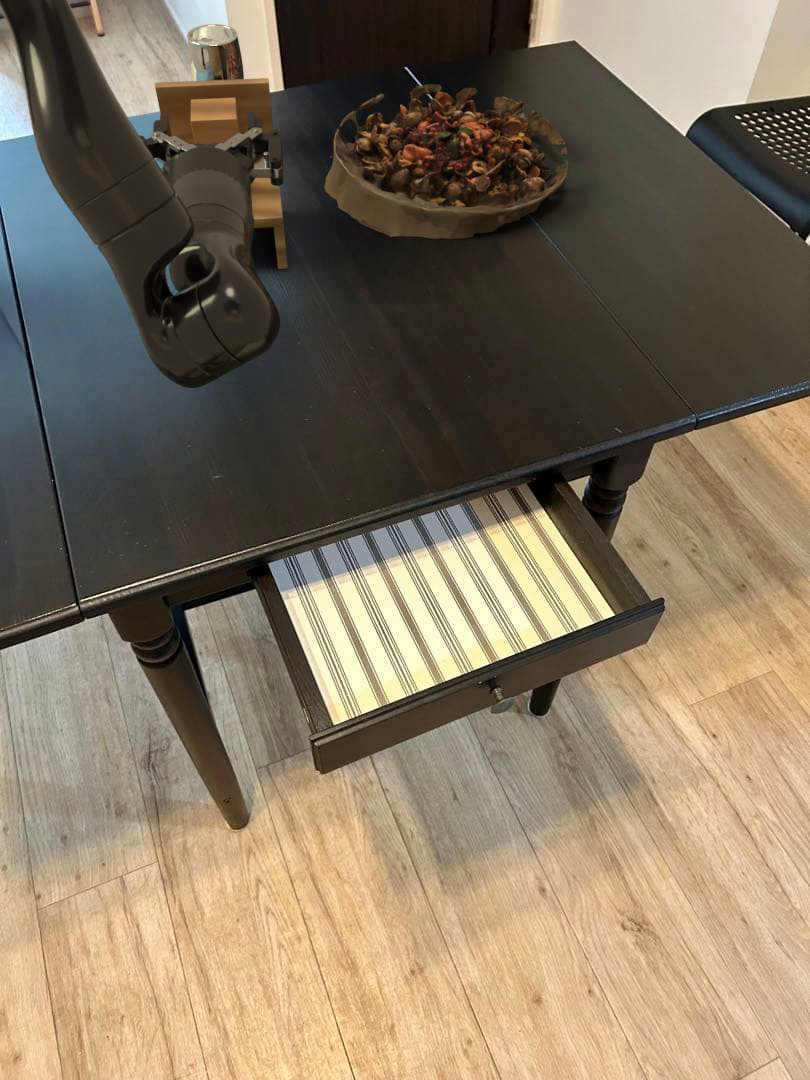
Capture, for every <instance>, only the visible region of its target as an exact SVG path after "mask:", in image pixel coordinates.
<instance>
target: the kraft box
mask: <svg viewBox="0 0 810 1080" xmlns="http://www.w3.org/2000/svg"><path fill="white" fill-rule="evenodd" d="M191 126H192V132H193V137H194V143H195V144H213V143H224V142H226V141H227V140H229V139H230V138H231V137H233V136H234V135H236V134H237V133H240V127H239V120H238V112H237V105H236V98H217V99H193V100H191Z"/></svg>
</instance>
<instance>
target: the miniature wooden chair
mask: <svg viewBox="0 0 810 1080" xmlns="http://www.w3.org/2000/svg"><path fill="white" fill-rule="evenodd" d="M154 90H155V95H156V98H157V103H158V109H159V114H160V115H168V119H169V124H170V129H171V137H172V136H177V137H178V138H180V139H181V140H183V141H185V142H186V143H188V144H189V145H190V144H195V143H194V137H193V132H192V126H191V100H193V99H217V98H236V105H237V112H238V120H239V127H240V134H245V133H246V132H247V131H248V122H247V112H254V117H258V116H259V117H260V118H261V121H262V131H263V132H264V133H266V134H269V132H270V131H272V130H274V122H273V121H274V119H273V111H272V102H271V91H270V81H269V78H267V77H261V78H244V79H234V80H209V81H193V80H189V81H188V80H187V81H186V80H185V81H168V82H167V81H163V82H155V84H154ZM262 158H264V156H263V157H262ZM262 158H260V159H259V160H258V161H257V162H255V163H254V164H257V163H259V162H260V161H261V159H262ZM251 197H252V211H253V216H254V226H253V229H260V228H273V233H274V243H275V252H276V263H277V269H278V270H286V269H287V270H288V269H289V265H288V256H287V246H286V245H287V244H286V235H285V225H284V224H285V223H284V216H283V206H282V197H281V188H280V186H274V185H272V184H271V181H270V178H255V180H254V181H253V183H252V184H251Z"/></svg>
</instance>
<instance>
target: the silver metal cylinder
mask: <svg viewBox="0 0 810 1080" xmlns="http://www.w3.org/2000/svg"><path fill="white" fill-rule="evenodd" d="M186 38H187V44H188V47H187V48H188V56H189V57H188V58H189V63H190V72H191V76H192V81H209V80H234V79H245V70H244V63H243V56H242V51H241V46H240V41H239V35H238V31H237V30H236V29H235V28H233V27H231V26H228V25H226V24H220V23H219V24H218V23H211V24H209V23H208V24H203V25H198V26H196V27H193V28H192V29H190V30H189V31H188V32H187V34H186Z"/></svg>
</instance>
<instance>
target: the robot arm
mask: <svg viewBox="0 0 810 1080" xmlns="http://www.w3.org/2000/svg"><path fill="white" fill-rule="evenodd" d="M0 11H1V14H2V16H3V17H4V20H5V22H6V24H7V27H8V29H9V32H10V34H11V35H10V36H11V37H12V41H13V44H14V47H15V52H16V54H17V55H16V56H17V58H18V62H19V64H20V70H21V75H22V81H23V86H24V91H25V96H26V102H27V109H28V113H29V118H30V123H31V128H32V133H33V137H34V138H33V139H34V142H35V145H36V149H37V152H38V155H39V157H40V161H41V163H42V165H43V168H44V170H45V172H46V175H47V176H48V178H49V180H50V182H51V184H52V186H53V187H54V189H55V191H56V192H57V194H58V196H59V197H60V198H61V200H62V201H63V202H64V204H65V206H66V208H68V210H69V211H70V212H71V214H72V215H73V216H74V218H75V219H76V220H77V222H78V223H79V225H80V226H81V227H82V229H83V230H84V231H85V233H86V235H88V237H89V238H90V240H91V241H92V242H93V244H94V245H95V246H96V247H97V249H98V250H99V252H100V254H101V255H102V256H103V258H104V259H105V261H106V262H107V264H108V266H109V268H110V270H111V271H112V273H113V275H114V278H115V279H116V280H115V281H116V282H117V284H118V286H119V288H120V290H121V293H122V295H123V297H124V300H125V301H126V303H127V306H128V308H129V311H130V313H131V316H132V318H133V321H134V323H135V326H136V329H137V331H138V334H139V336H140V339H141V341H142V344H143V347H144V349H145V350H146V353H147V355H148V357H149V359H150V361H151V362H152V365H154V367H155V368H156V369H157V371H159V373H161V375H163V377H165V378H166V379H167V380H169V381H171V382H172V383H174V384H176V385H177V386H180V387H183V388H186V389H187V388H188V389H199V388H201V387H204V386H207V385H209V384H210V383H213V382H215V380H218V379H219V378H221V377H224V376H225V375H226V374H229V373H230V372H232V371H235V370H236V369H238V368H240V367H241V366H244V365H246V364H247V363H249V362H251V361H253V360H255V359H257V358H259V357H260V356H262V355H263V354H266V352H268V351H269V350H270V349H271V348H272V347H273V345H274V344H275V343H276V340H277V339H278V336H279V333H280V328H281V318H280V313H279V310H278V308H277V305H276V304H275V301H274V300H273V297H272V296H271V294H270V293H269V292H268V289H267V288H266V286H265V285H264V284H263V281H262V280H261V277H260V276H259V274H258V271H257V268H256V266H255V262H254V255H253V242H252V241H253V236H254V228H253V226H254V216H253V211H252V197H251V184H252V183H253V181H254V180H255V178H270V181H271V184H272V185H274V186H279V187H280V186H282V185H284V152H283V151H284V150H283V139H282V131H280V130H278V129H273V130H272V131H270V132H269V134H266V133H264V132H263V131H262V121H261V118H260V117H259V116H258V117H254V112H247V122H248V131H247V132H246V133H245V134H240V133H237V134H236V135H234V136H233V137H231V138H230V139H229V140H227V141H226V142H224V143H213V144H190V145H189V144H188V143H186V142H185V141H183V140H181V139H180V138H178V137H177V136H172V137H171V129H170V124H169V119H168V115H161V114H160V115H159V119H155V120H154V121H153V129H152V132H151V133H150V137H148V138H145V136H144V135H141V134H139V133H138V132H137V130H136V128H135V127H134V125H133V123H132V122H131V120H130V119H129V117H128V115H127V113H126V112H125V110H124V109H123V107H122V106H121V104H120V102H119V100H118V99H117V98H118V97H117V96H116V95H115V93H114V92H113V90H112V88H111V86H110V84H109V81H108V79H106V77H105V74H104V72H103V70H102V69H101V66H100V65H99V63H98V61H97V58H96V57H95V54H94V53H93V51H92V48H91V46H90V44H89V42H88V40H87V38H86V35H85V34H84V32H83V30H82V27H81V26H80V22H79V21H78V19H77V17H76V14H75V12H74V10H73V8H72V6H71V3H70V2H69V0H0ZM263 156H264V158H262V157H263ZM260 158H262V159H261V161H260V162H259V163H257V164H254V163H255V162H257V161H258V160H259V159H260ZM158 162H159V163H160V164H161V165H162V167H160V165H159V164H158ZM167 268H168V273H169V278H170V281H171V284H172V285H173V287H174V289H175V290H176V292H177V293H175V294H173V292H172V291H171V290H170V287H169V285H168V279H167Z"/></svg>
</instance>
